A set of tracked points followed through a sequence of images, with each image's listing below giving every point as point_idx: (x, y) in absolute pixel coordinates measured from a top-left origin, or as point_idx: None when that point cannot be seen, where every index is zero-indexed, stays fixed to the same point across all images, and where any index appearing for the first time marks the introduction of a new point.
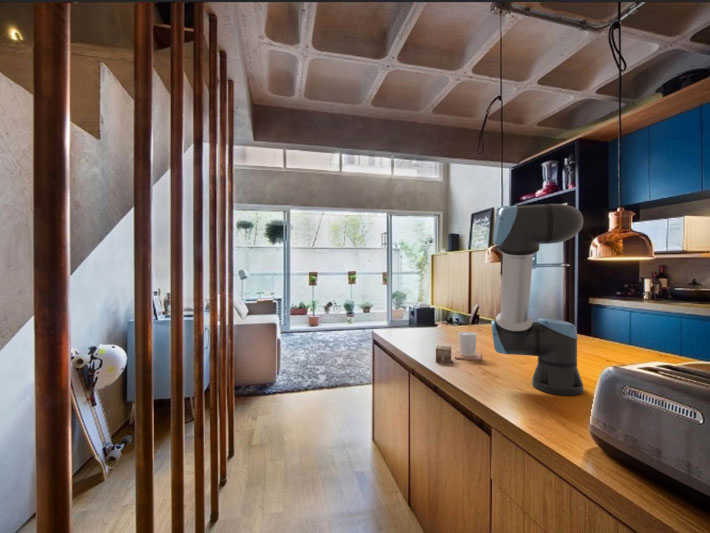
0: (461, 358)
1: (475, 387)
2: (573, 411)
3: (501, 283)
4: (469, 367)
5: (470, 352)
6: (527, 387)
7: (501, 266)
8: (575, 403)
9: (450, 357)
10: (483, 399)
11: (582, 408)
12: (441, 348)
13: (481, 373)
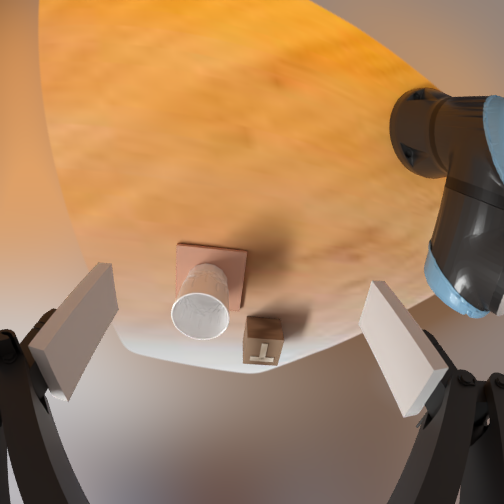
0: (240, 296)
1: (423, 278)
2: None
3: (96, 344)
4: (309, 282)
5: (226, 282)
6: (427, 189)
7: (4, 476)
8: None
9: (268, 324)
10: None
11: None
12: (274, 355)
13: (352, 261)
